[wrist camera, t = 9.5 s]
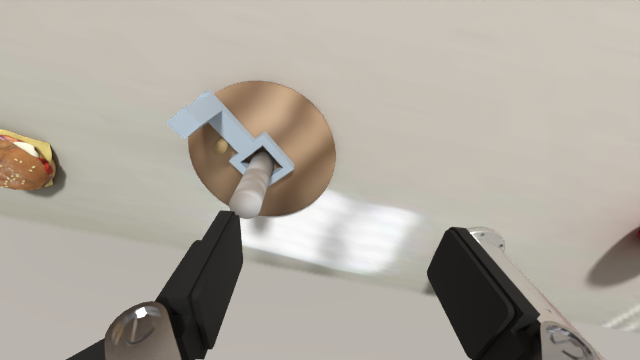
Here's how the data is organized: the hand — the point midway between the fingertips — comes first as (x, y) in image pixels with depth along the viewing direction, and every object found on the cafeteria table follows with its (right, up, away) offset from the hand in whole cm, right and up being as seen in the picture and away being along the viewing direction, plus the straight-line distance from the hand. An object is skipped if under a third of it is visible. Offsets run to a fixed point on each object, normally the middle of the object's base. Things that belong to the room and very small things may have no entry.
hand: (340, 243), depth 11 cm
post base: (-9, +6, +23) cm, 25 cm away
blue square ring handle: (-11, +8, +20) cm, 24 cm away
